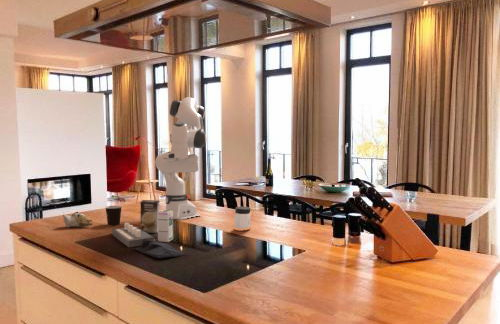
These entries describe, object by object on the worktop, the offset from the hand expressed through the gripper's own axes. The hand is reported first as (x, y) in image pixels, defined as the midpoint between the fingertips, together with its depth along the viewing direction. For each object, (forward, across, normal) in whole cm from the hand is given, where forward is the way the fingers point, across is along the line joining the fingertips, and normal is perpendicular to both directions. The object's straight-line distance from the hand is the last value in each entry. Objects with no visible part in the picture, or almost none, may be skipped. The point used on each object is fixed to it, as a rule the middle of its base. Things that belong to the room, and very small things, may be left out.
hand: (179, 181), depth 214 cm
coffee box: (+27, +12, -11) cm, 32 cm away
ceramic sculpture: (+28, +42, -40) cm, 64 cm away
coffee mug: (+27, +23, -37) cm, 51 cm away
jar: (+27, -32, +11) cm, 44 cm away
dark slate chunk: (+28, +22, +27) cm, 45 cm away
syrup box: (+27, +12, +10) cm, 32 cm away
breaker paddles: (+24, +25, 0) cm, 35 cm away
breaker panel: (+27, +25, 0) cm, 37 cm away
